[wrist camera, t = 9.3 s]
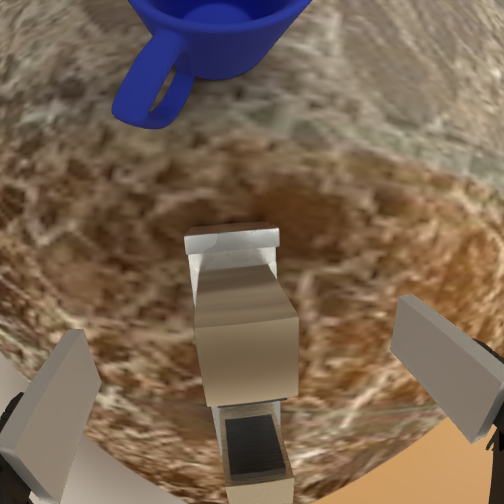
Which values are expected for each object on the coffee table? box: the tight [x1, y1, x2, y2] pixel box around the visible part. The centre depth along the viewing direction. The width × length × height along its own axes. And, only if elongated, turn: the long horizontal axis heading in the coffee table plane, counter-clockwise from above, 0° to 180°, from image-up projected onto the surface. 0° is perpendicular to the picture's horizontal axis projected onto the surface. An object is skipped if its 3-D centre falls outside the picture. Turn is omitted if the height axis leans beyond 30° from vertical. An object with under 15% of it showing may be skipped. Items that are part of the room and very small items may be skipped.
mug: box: [112, 0, 312, 129], centre depth 13 cm, size 8×12×10 cm
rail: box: [184, 221, 294, 504], centre depth 18 cm, size 19×5×10 cm, turn 3°
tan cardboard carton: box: [193, 264, 299, 408], centre depth 16 cm, size 5×4×7 cm
